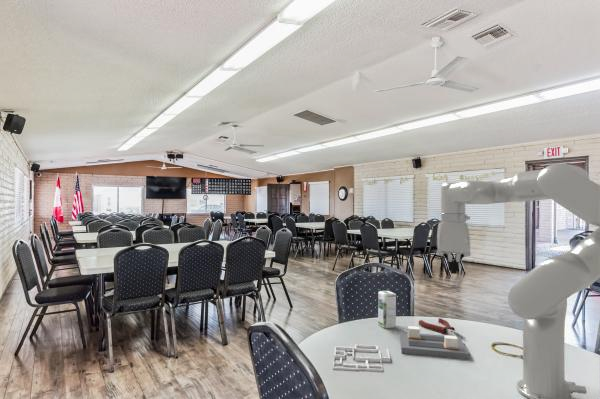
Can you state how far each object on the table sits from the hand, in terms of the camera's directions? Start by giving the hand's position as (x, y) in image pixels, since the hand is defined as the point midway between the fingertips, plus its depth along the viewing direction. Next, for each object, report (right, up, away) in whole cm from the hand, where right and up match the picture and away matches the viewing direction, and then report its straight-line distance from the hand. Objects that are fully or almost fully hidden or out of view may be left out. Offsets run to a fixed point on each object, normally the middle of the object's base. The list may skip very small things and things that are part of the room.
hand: (453, 273), depth 122 cm
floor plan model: (-31, -30, +4) cm, 43 cm away
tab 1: (-9, -27, +15) cm, 32 cm away
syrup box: (-15, -30, +33) cm, 47 cm away
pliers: (+6, -30, +27) cm, 41 cm away
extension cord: (+24, -30, +5) cm, 39 cm away
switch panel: (-4, -29, +10) cm, 31 cm away
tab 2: (+1, -27, +5) cm, 27 cm away
